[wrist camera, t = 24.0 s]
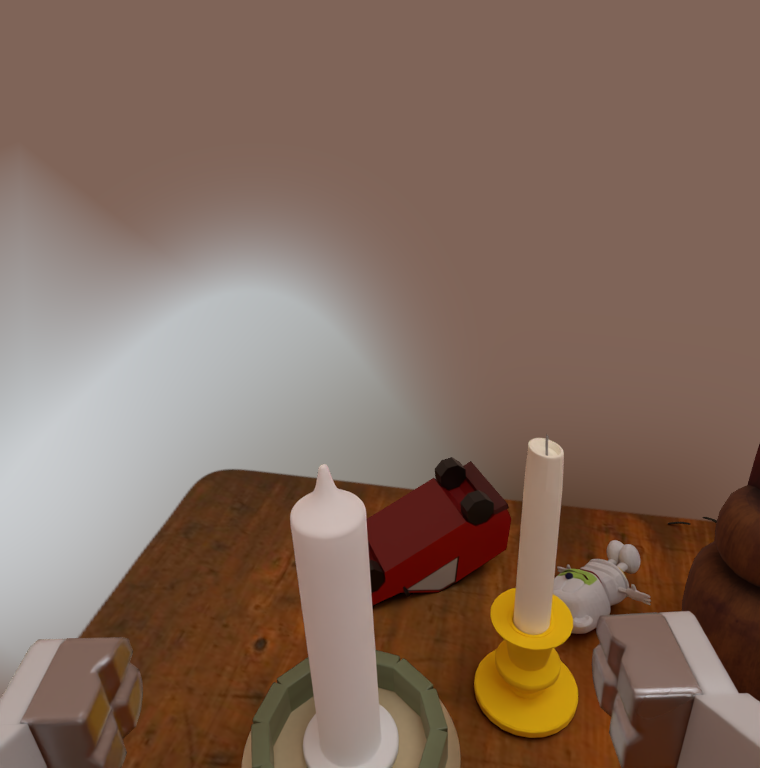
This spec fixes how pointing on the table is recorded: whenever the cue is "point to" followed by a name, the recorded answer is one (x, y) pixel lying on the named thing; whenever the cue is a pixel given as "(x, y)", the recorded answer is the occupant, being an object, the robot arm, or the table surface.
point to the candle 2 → (532, 617)
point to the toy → (599, 585)
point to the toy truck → (436, 533)
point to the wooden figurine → (732, 586)
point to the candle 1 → (340, 631)
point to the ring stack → (396, 694)
